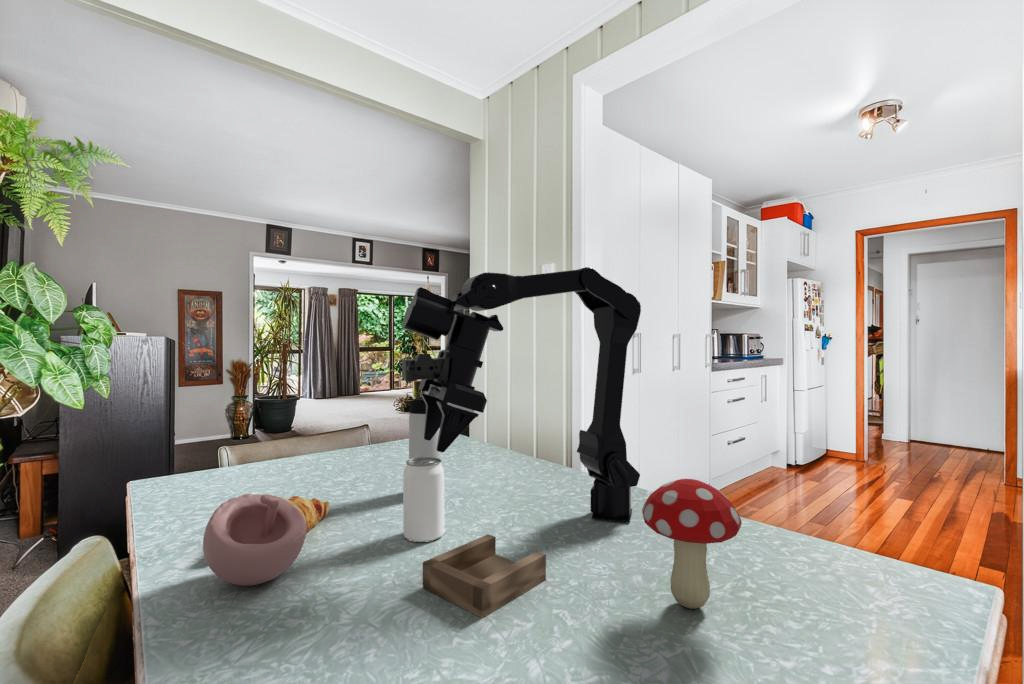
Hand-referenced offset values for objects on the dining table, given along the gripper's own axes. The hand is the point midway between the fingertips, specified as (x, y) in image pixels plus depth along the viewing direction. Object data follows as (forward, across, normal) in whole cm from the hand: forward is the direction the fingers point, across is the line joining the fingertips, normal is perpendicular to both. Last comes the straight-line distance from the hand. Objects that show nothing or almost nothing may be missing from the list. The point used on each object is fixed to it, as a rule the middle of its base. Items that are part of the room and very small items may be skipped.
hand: (433, 445), depth 78 cm
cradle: (+13, +15, +8) cm, 22 cm away
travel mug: (+13, -25, +9) cm, 30 cm away
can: (+15, -4, +4) cm, 16 cm away
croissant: (+22, -12, -16) cm, 30 cm away
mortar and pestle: (+22, +3, -18) cm, 29 cm away
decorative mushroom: (+7, +29, +28) cm, 41 cm away
